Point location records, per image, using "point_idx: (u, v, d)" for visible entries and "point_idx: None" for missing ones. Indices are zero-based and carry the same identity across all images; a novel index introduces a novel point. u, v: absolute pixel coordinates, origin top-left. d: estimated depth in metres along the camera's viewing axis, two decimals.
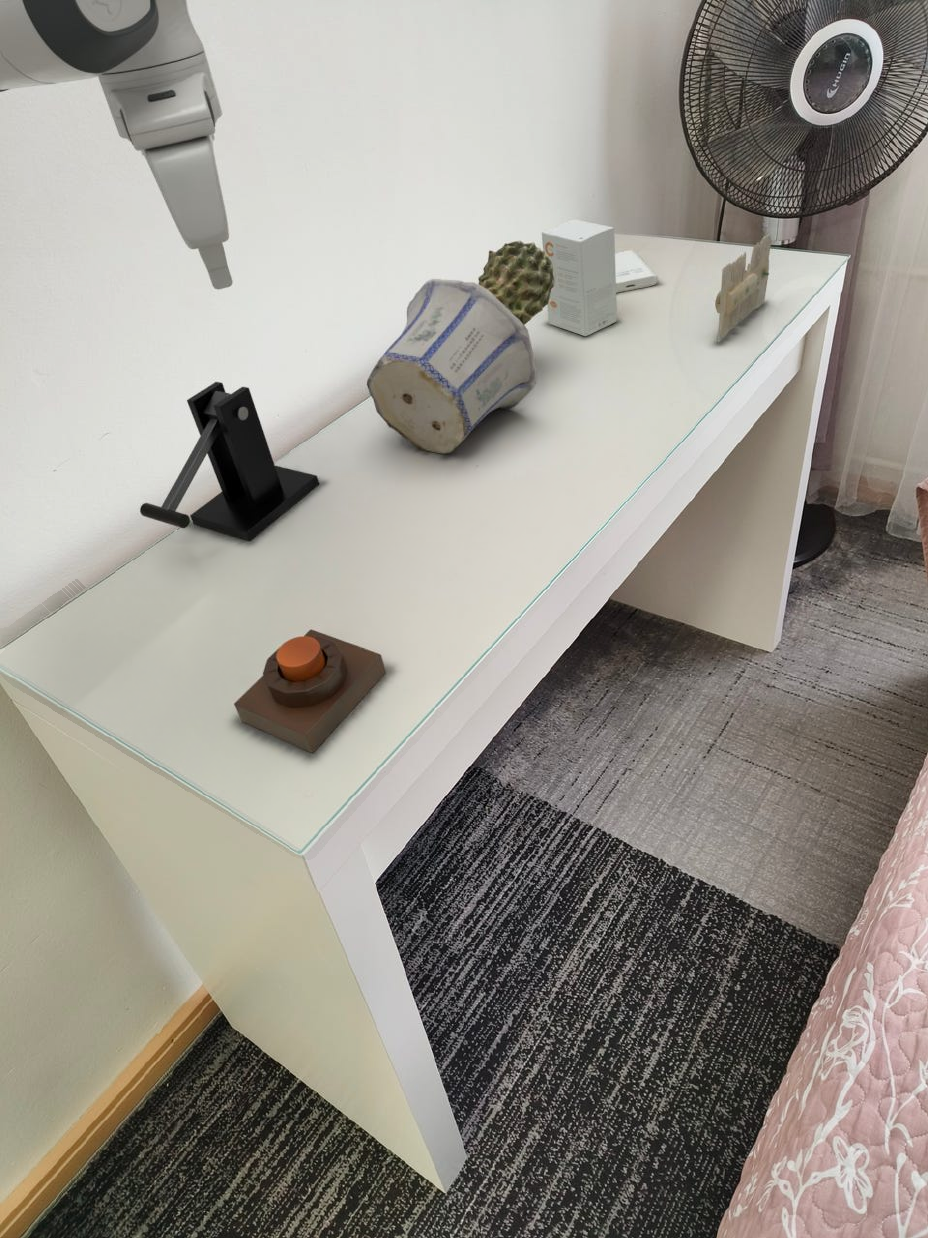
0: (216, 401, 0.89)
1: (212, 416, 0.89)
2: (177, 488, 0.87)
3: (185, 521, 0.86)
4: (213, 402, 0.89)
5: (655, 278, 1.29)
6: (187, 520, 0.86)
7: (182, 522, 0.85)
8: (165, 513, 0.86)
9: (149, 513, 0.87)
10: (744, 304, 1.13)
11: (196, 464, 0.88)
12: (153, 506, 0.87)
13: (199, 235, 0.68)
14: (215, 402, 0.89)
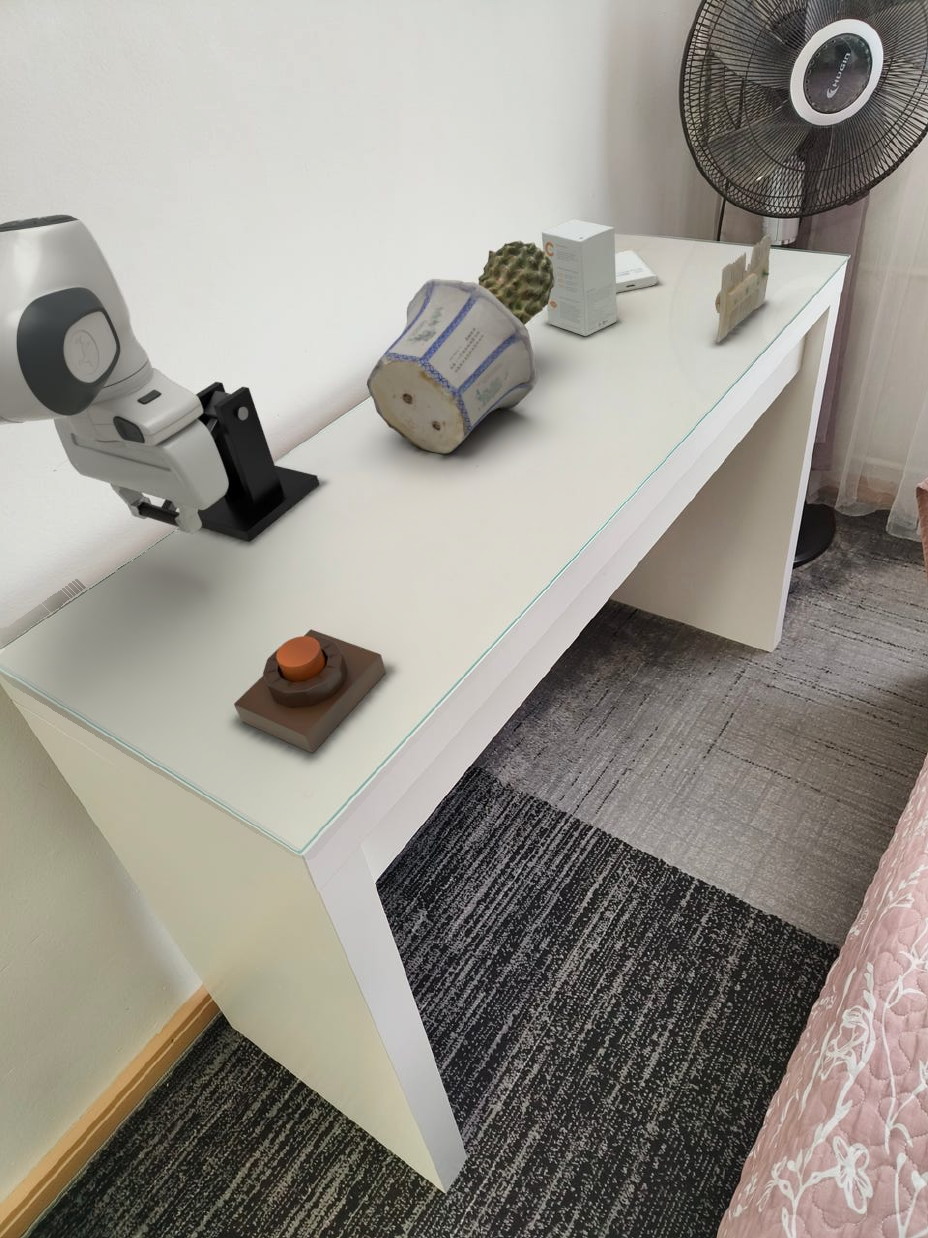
0: (216, 401, 0.89)
1: (212, 416, 0.89)
2: None
3: None
4: (213, 402, 0.89)
5: (655, 278, 1.29)
6: None
7: None
8: (165, 513, 0.86)
9: (149, 513, 0.87)
10: (744, 304, 1.13)
11: None
12: (153, 506, 0.87)
13: (213, 496, 0.79)
14: (215, 402, 0.89)
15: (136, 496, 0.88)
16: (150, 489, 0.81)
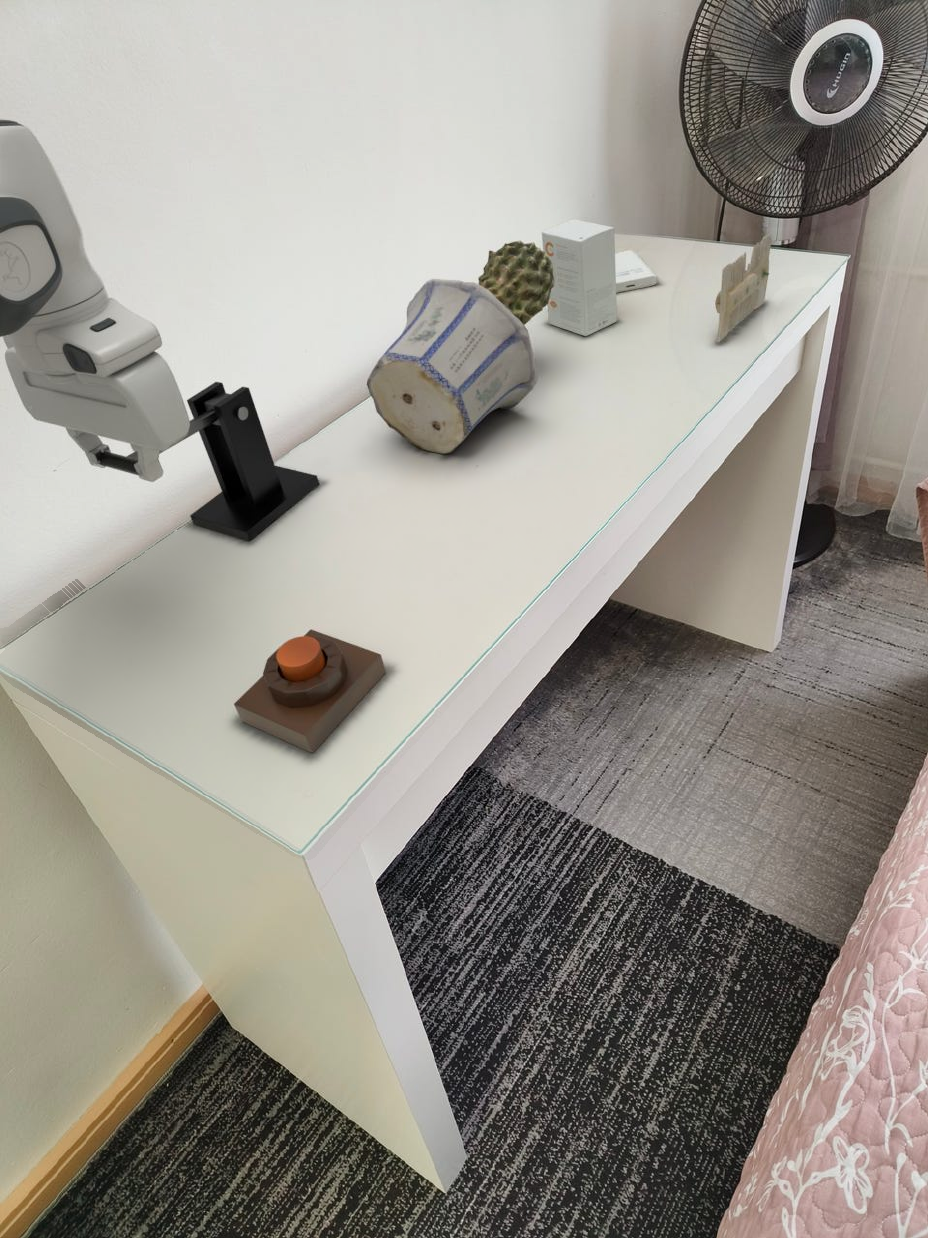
0: (220, 398, 0.89)
1: (211, 408, 0.88)
2: None
3: None
4: (217, 398, 0.89)
5: (655, 278, 1.29)
6: None
7: None
8: (129, 459, 0.81)
9: (110, 458, 0.82)
10: (744, 304, 1.13)
11: None
12: (117, 454, 0.82)
13: (172, 436, 0.73)
14: (219, 398, 0.89)
15: (94, 443, 0.83)
16: (106, 430, 0.76)
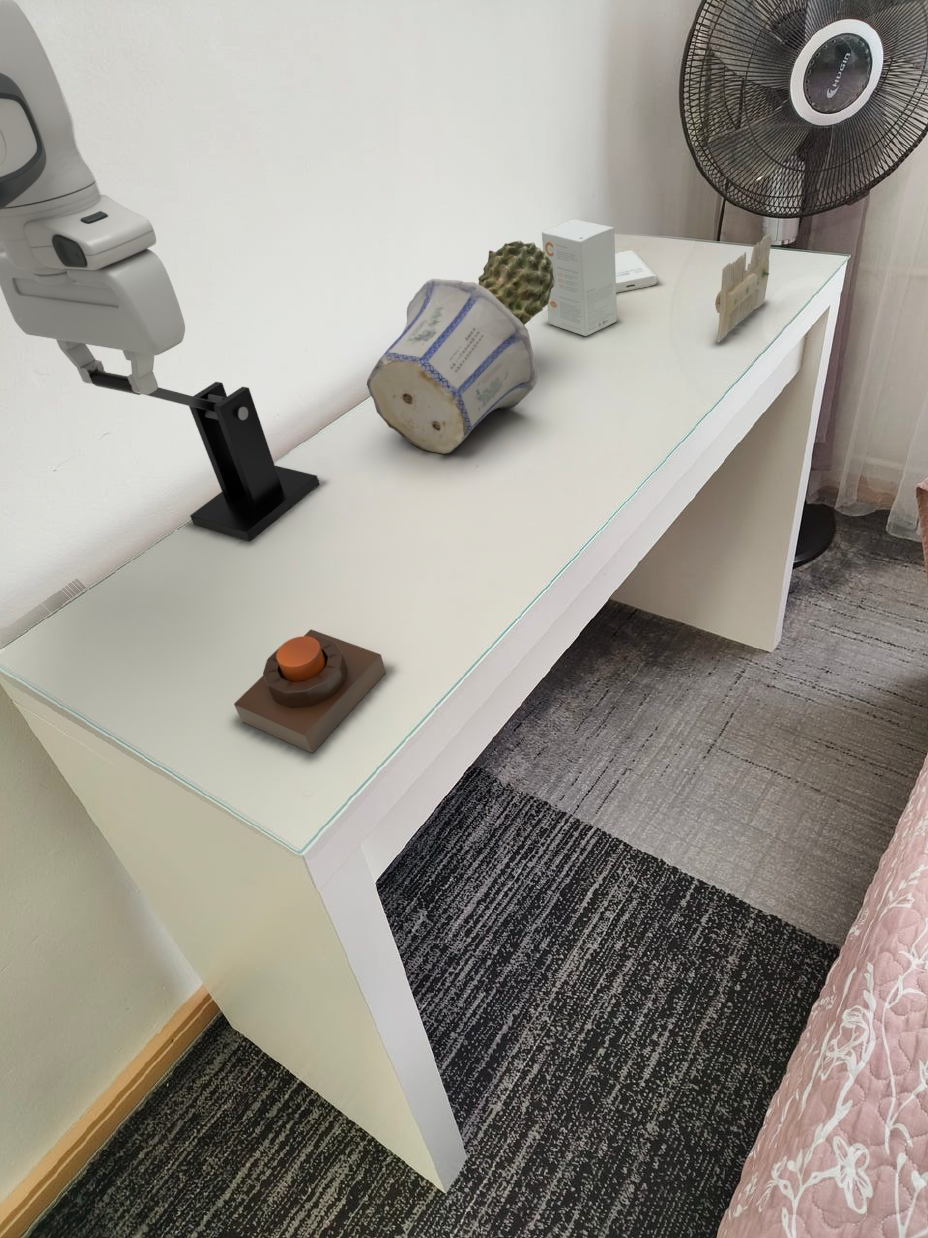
0: None
1: (213, 399, 0.88)
2: None
3: None
4: None
5: (656, 278, 1.29)
6: None
7: None
8: None
9: (104, 373, 0.79)
10: (744, 304, 1.13)
11: (175, 395, 0.84)
12: None
13: (166, 339, 0.70)
14: None
15: (87, 359, 0.80)
16: (98, 337, 0.73)
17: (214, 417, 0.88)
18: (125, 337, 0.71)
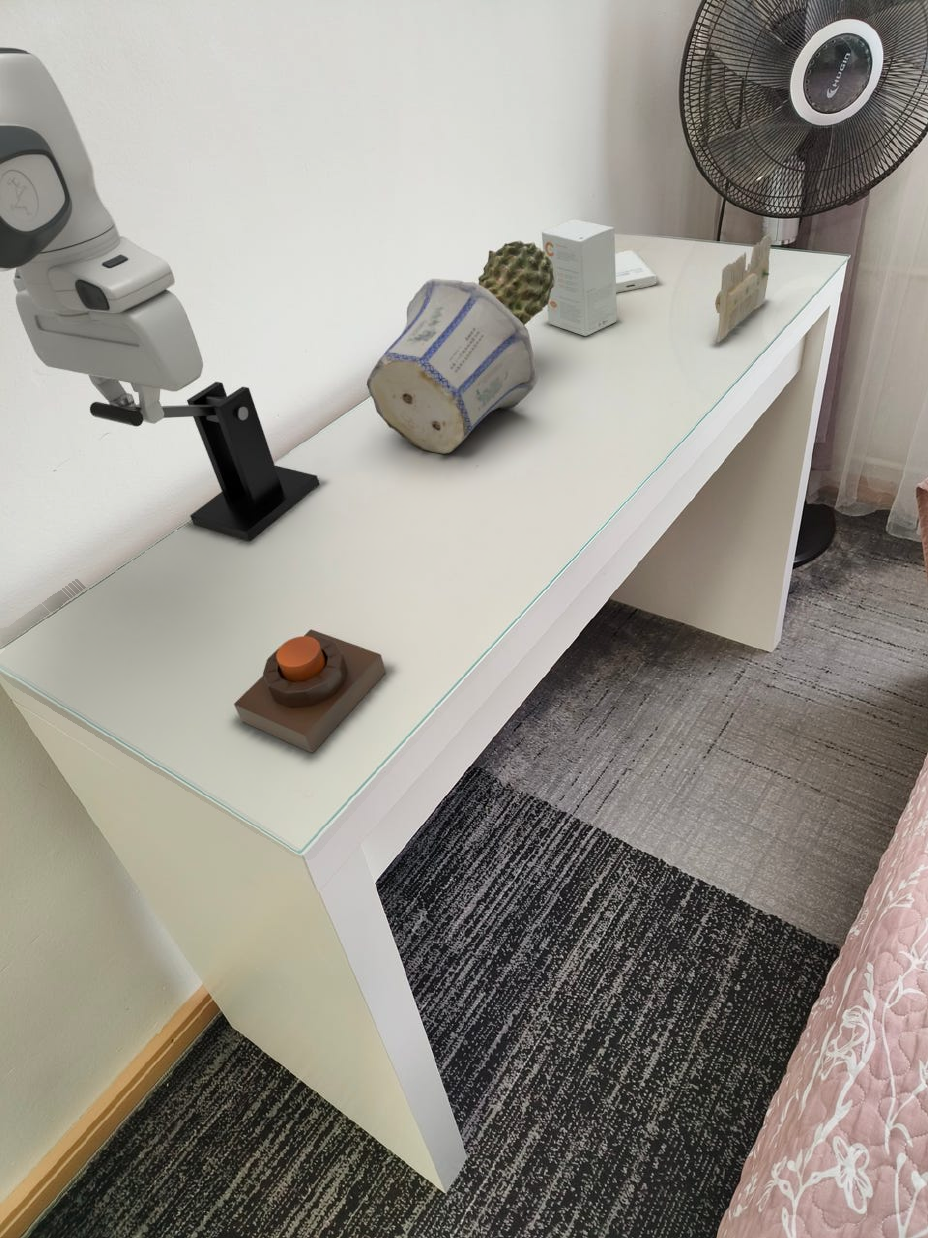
0: (223, 397, 0.89)
1: (212, 402, 0.88)
2: None
3: (137, 419, 0.78)
4: (220, 397, 0.89)
5: (656, 278, 1.29)
6: (139, 420, 0.78)
7: (135, 416, 0.78)
8: (121, 407, 0.79)
9: (101, 405, 0.79)
10: (744, 304, 1.13)
11: (174, 410, 0.84)
12: None
13: (185, 376, 0.73)
14: (222, 397, 0.89)
15: (118, 392, 0.81)
16: (119, 373, 0.75)
17: (215, 420, 0.89)
18: (145, 374, 0.73)
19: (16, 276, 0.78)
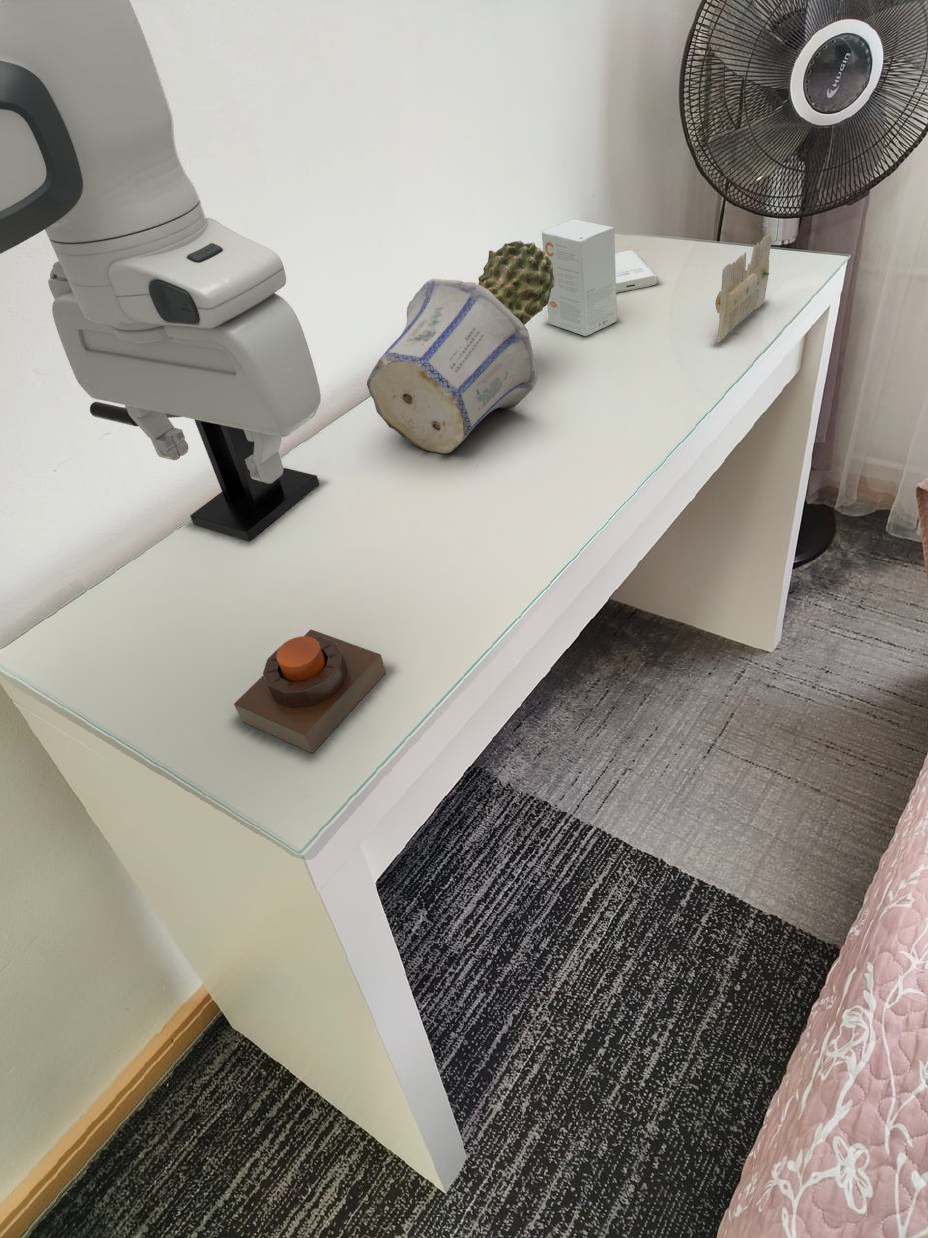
0: None
1: None
2: None
3: None
4: None
5: (656, 278, 1.29)
6: None
7: None
8: (121, 407, 0.79)
9: (101, 405, 0.79)
10: (744, 304, 1.13)
11: None
12: None
13: (299, 416, 0.51)
14: None
15: (163, 427, 0.61)
16: (199, 410, 0.54)
17: None
18: (241, 413, 0.52)
19: (52, 276, 0.56)
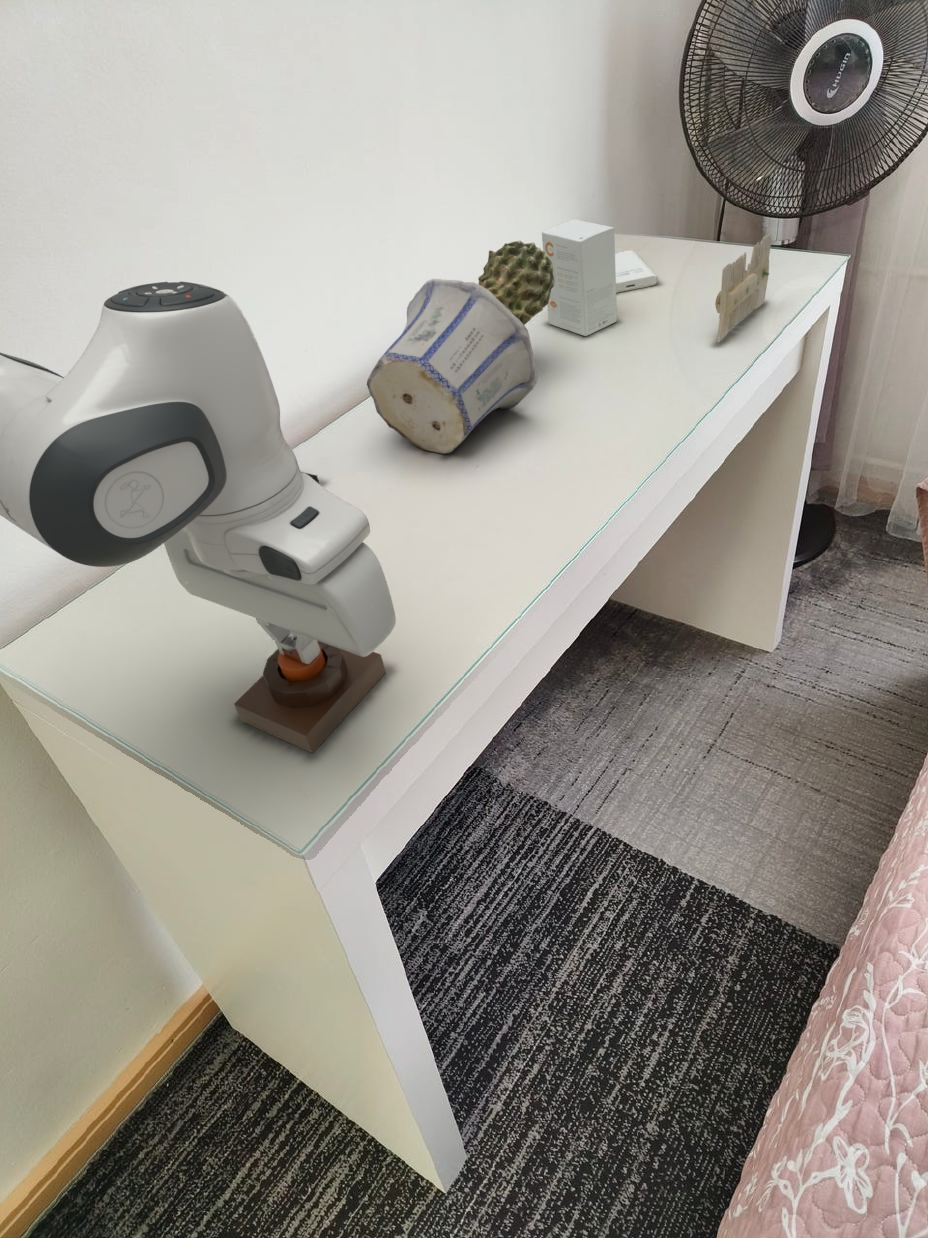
0: None
1: None
2: None
3: None
4: None
5: (656, 278, 1.29)
6: None
7: None
8: None
9: None
10: (744, 304, 1.13)
11: None
12: None
13: (379, 640, 0.60)
14: None
15: (286, 630, 0.68)
16: (290, 624, 0.63)
17: None
18: (328, 635, 0.61)
19: None
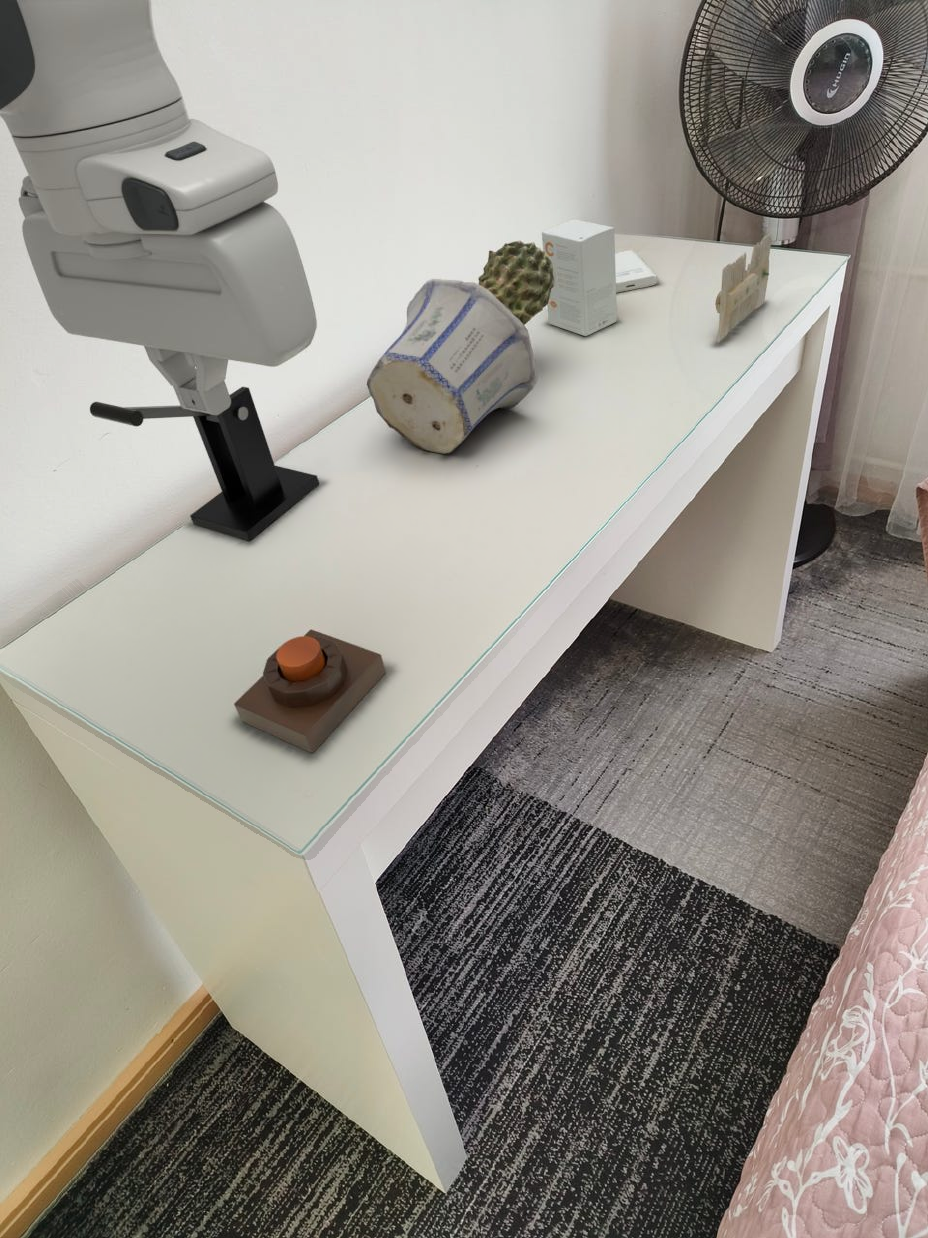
0: None
1: None
2: (145, 407, 0.81)
3: (137, 419, 0.78)
4: None
5: (656, 278, 1.29)
6: (139, 420, 0.78)
7: (135, 416, 0.78)
8: (121, 407, 0.79)
9: (101, 405, 0.79)
10: (744, 304, 1.13)
11: (174, 410, 0.84)
12: None
13: (292, 342, 0.46)
14: None
15: (188, 374, 0.54)
16: (183, 339, 0.49)
17: (215, 420, 0.89)
18: (227, 339, 0.46)
19: (23, 193, 0.51)
